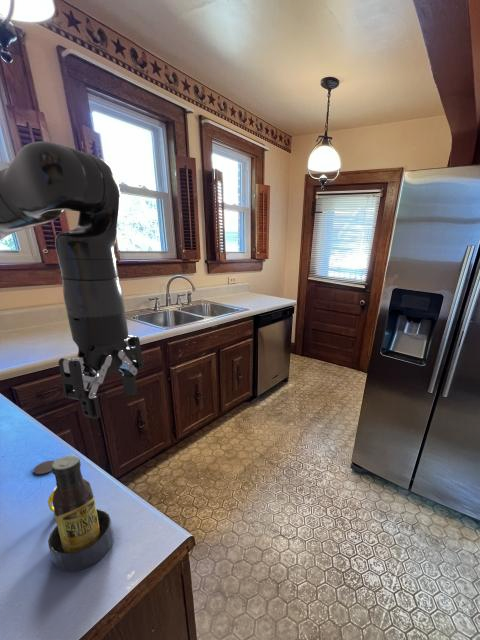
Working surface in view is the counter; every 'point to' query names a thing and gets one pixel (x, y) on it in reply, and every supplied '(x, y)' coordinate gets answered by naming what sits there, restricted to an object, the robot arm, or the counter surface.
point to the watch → (51, 500)
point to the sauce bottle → (74, 506)
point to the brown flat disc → (43, 468)
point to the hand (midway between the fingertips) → (113, 405)
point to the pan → (87, 555)
